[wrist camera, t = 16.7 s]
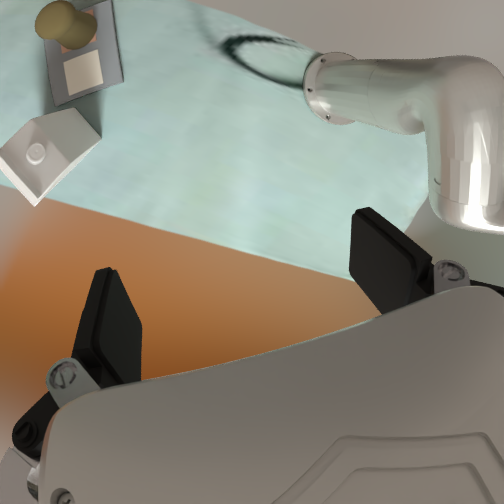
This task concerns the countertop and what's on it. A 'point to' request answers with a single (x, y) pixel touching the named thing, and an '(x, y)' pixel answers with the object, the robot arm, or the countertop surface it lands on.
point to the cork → (65, 25)
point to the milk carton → (46, 151)
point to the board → (85, 60)
